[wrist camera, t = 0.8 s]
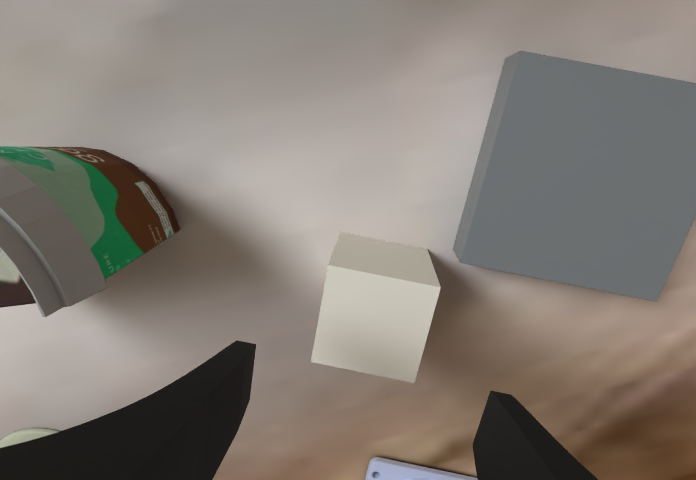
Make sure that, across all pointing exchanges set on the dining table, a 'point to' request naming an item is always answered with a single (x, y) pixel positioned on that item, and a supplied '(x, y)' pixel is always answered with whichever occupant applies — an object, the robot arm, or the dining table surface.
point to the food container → (72, 223)
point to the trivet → (583, 176)
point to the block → (376, 307)
